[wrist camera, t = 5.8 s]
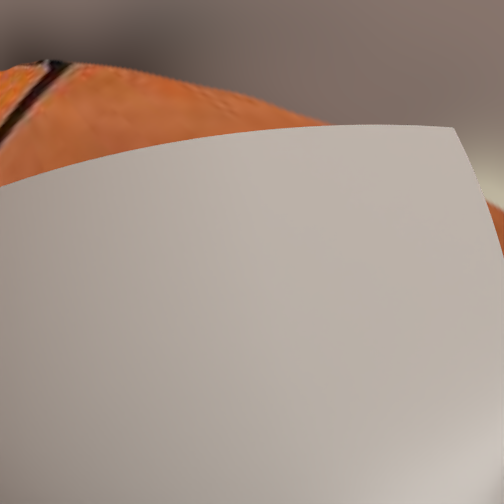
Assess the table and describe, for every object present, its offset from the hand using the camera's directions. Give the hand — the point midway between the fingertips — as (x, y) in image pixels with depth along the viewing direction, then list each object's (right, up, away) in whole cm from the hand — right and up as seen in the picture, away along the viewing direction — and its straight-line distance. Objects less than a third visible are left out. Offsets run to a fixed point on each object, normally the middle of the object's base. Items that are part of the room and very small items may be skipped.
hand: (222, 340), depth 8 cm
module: (+1, -4, +6) cm, 7 cm away
